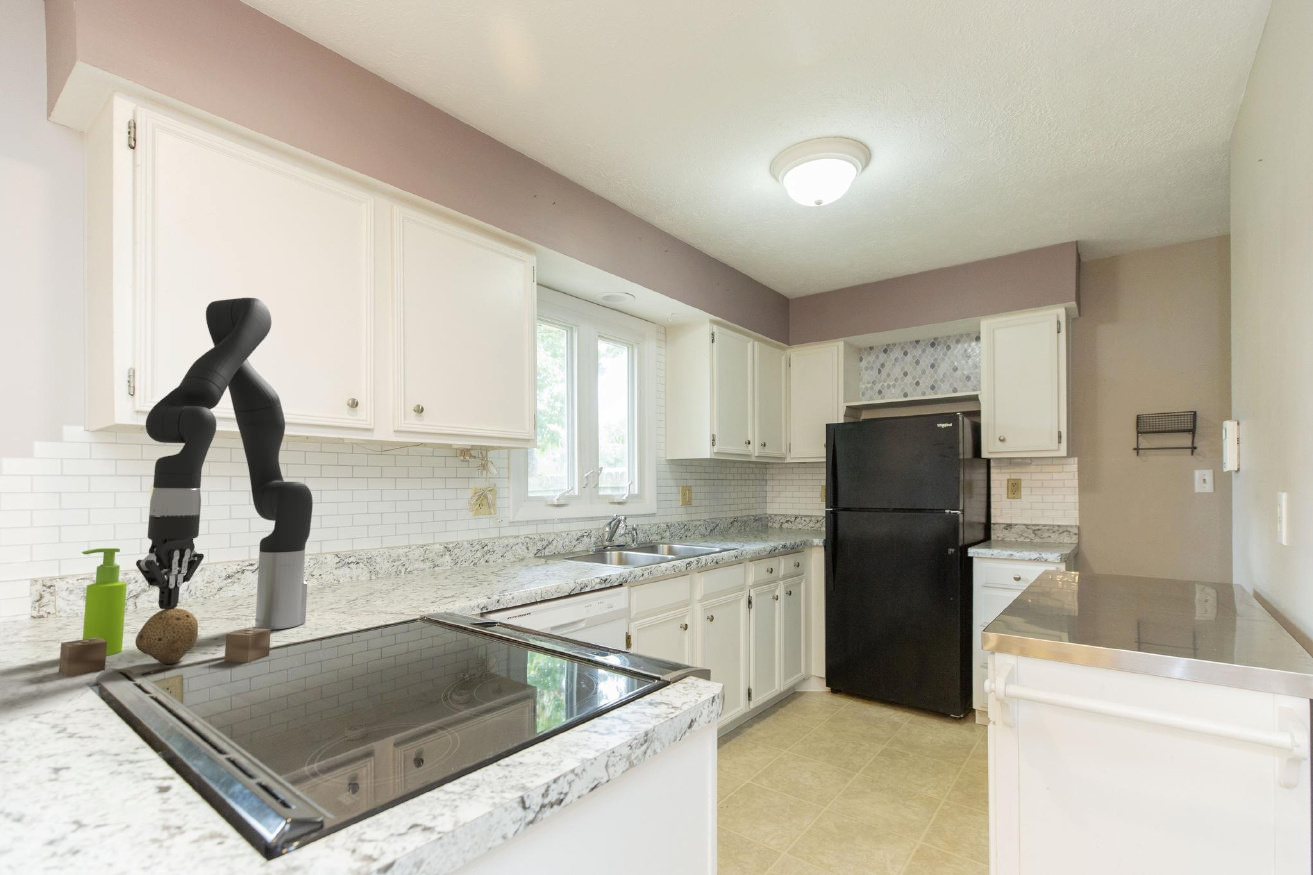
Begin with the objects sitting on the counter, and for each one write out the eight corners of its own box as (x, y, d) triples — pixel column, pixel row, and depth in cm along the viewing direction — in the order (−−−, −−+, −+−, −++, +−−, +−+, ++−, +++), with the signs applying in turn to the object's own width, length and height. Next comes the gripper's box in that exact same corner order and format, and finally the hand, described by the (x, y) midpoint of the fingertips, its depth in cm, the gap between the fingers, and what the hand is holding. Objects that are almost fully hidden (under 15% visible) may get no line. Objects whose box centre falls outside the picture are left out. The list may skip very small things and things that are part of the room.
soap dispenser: (70, 654, 121) (79, 548, 122) (117, 647, 126) (124, 546, 128) (77, 660, 117) (86, 550, 119) (125, 652, 122) (133, 548, 124)
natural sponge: (123, 672, 110) (127, 614, 110) (148, 659, 118) (152, 604, 119) (184, 668, 112) (188, 611, 113) (205, 655, 121) (208, 602, 121)
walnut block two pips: (246, 654, 122) (248, 627, 123) (269, 655, 121) (270, 628, 122) (224, 661, 117) (226, 633, 118) (247, 663, 116) (249, 634, 117)
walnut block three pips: (96, 665, 114) (98, 636, 114) (104, 670, 111) (107, 640, 111) (58, 672, 110) (61, 641, 110) (66, 677, 107) (69, 646, 107)
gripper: (184, 511, 124) (178, 601, 122) (123, 513, 111) (115, 614, 109) (221, 512, 123) (215, 602, 122) (164, 514, 110) (156, 616, 109)
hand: (167, 608), depth 116 cm, fingers closed
